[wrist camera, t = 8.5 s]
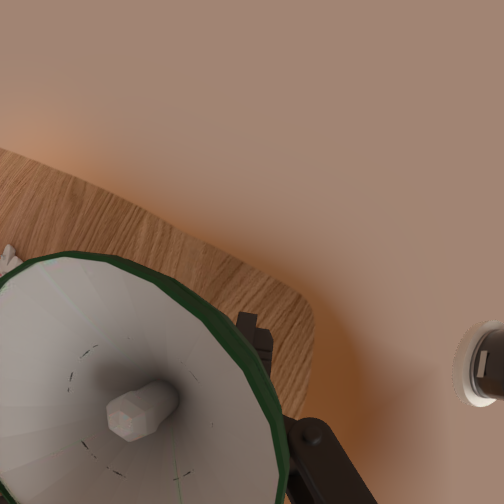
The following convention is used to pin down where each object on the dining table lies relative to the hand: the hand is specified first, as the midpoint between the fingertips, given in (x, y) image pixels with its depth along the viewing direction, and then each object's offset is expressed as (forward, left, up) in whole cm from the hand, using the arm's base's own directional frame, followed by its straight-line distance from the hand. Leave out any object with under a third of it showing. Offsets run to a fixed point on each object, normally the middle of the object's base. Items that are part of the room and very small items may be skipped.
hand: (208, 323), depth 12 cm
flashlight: (0, +2, -11) cm, 11 cm away
